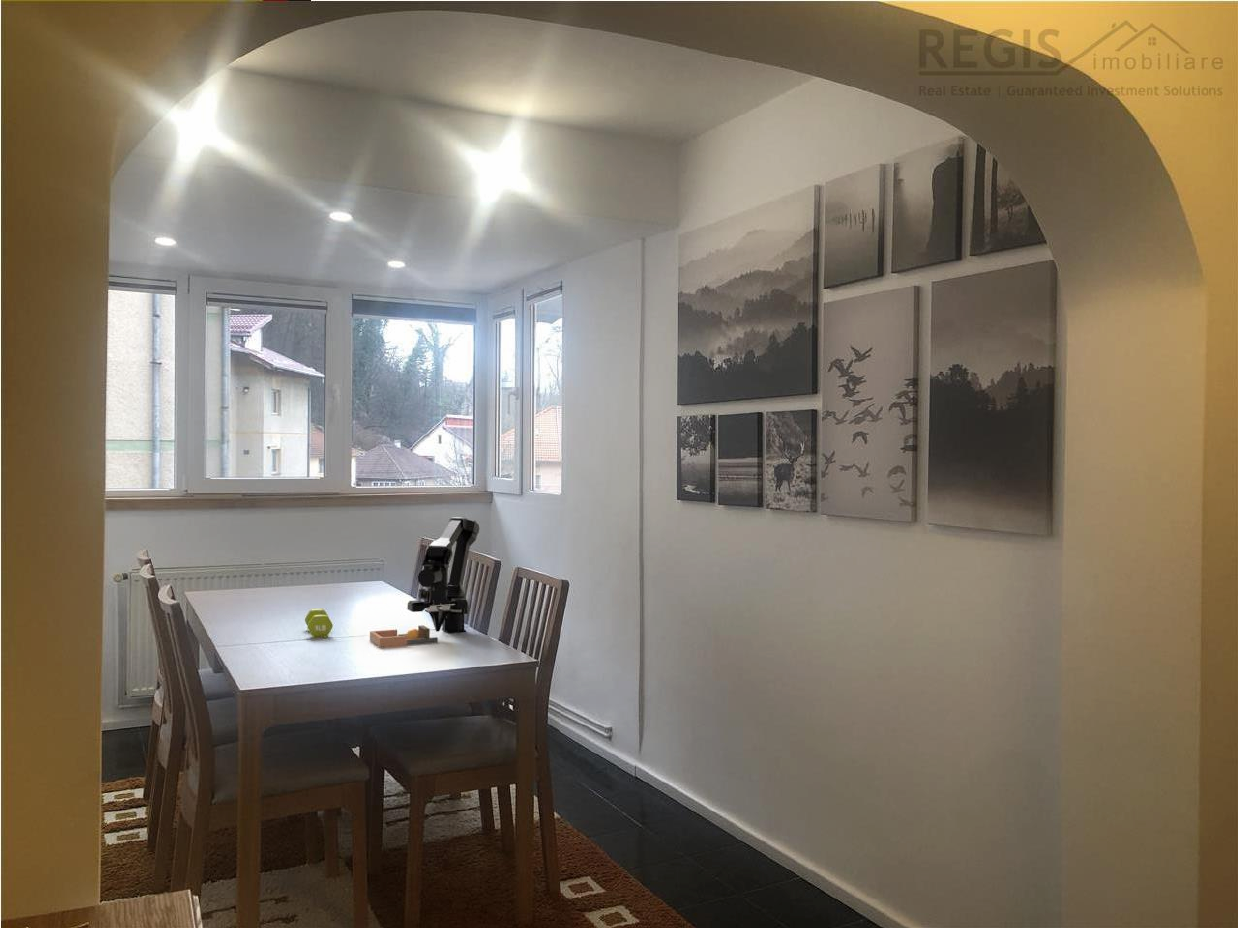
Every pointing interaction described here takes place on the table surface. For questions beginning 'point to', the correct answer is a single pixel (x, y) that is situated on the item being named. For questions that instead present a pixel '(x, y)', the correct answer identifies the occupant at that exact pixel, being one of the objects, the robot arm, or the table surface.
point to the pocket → (387, 638)
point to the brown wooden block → (424, 632)
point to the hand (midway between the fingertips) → (437, 631)
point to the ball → (413, 634)
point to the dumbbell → (318, 623)
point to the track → (420, 640)
